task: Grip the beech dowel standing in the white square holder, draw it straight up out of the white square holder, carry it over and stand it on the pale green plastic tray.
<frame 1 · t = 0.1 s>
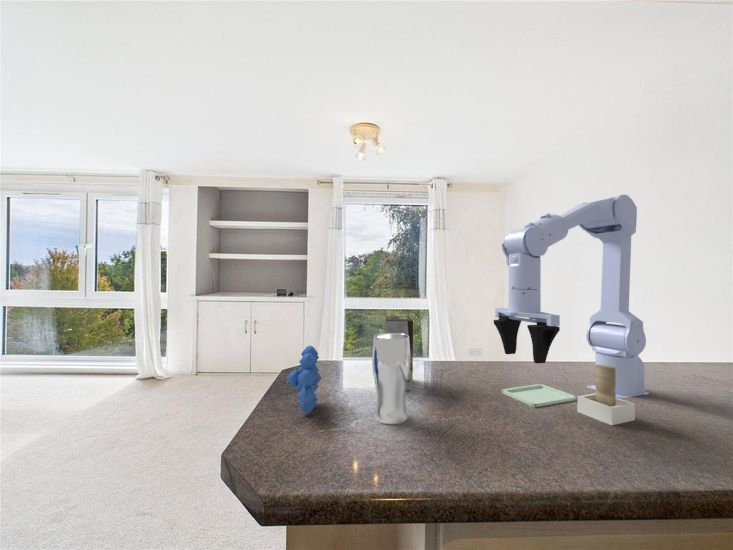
hand: (524, 358, 65), 10 cm above the countertop, tool pointing down, fingers open, 7 cm apart
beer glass: (390, 418, 61), on the countertop
grapes: (303, 409, 64), on the countertop
coffee box: (398, 384, 80), on the countertop
tray: (538, 398, 71), on the countertop
dowel: (605, 415, 61), point 1 cm above the countertop, touching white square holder
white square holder: (605, 418, 61), on the countertop
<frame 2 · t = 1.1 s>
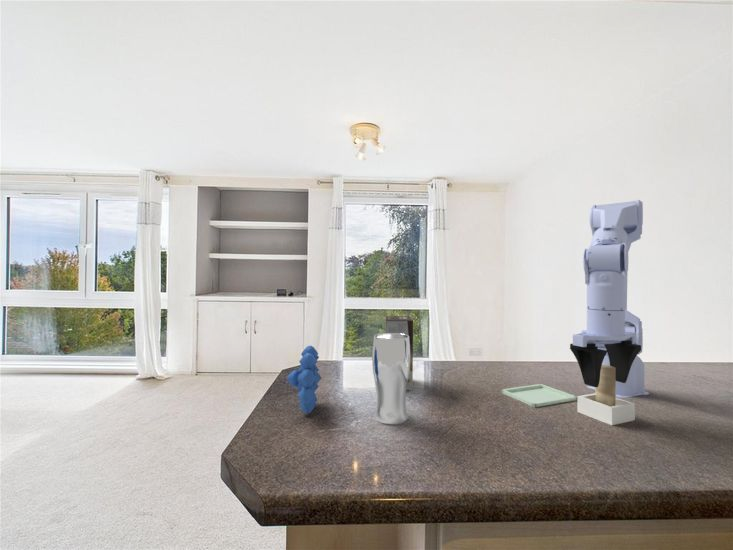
hand: (605, 383, 61), 7 cm above the countertop, tool pointing down, fingers open, 7 cm apart
nothing on the countertop moved.
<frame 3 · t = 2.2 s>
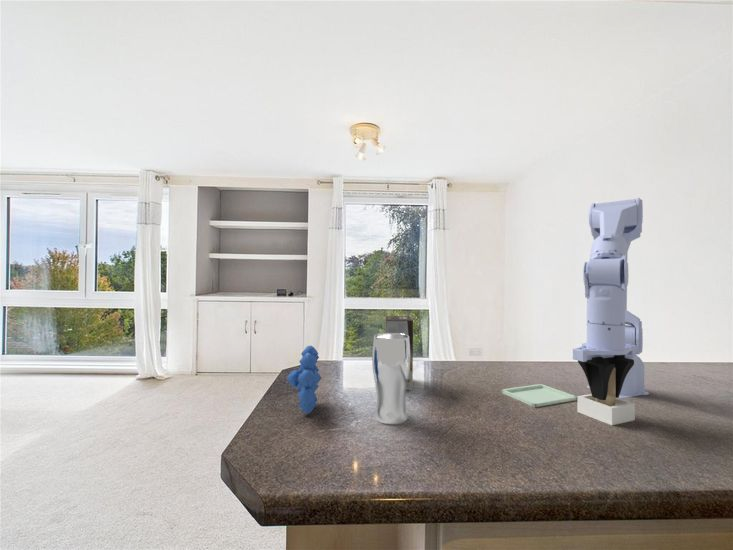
hand: (605, 397, 61), 4 cm above the countertop, tool pointing down, fingers closed on dowel, 3 cm apart
dowel: (605, 415, 61), point 1 cm above the countertop, touching gripper, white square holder
everything else where it was.
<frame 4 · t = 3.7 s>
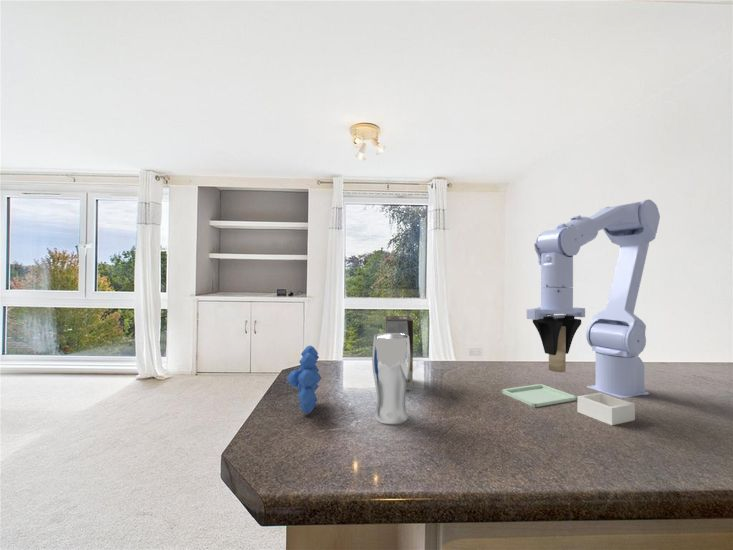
hand: (556, 353, 68), 10 cm above the countertop, tool pointing down, fingers closed on dowel, 3 cm apart
dowel: (557, 370, 68), point 7 cm above the countertop, touching gripper
everything else where it was.
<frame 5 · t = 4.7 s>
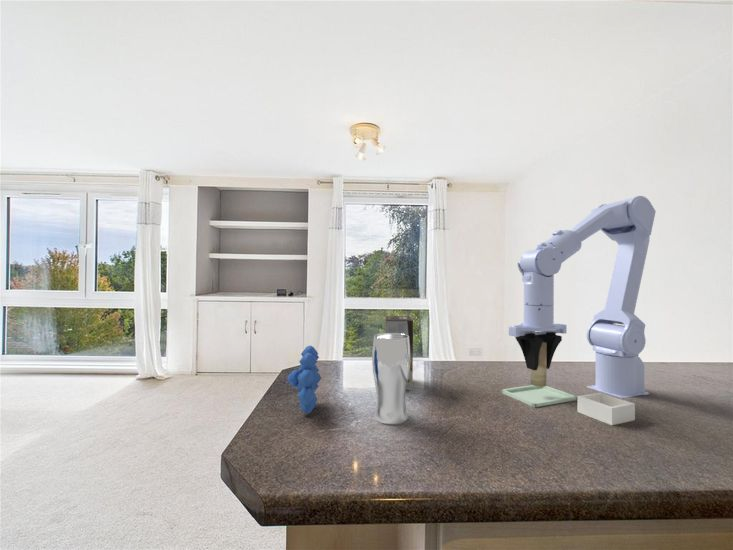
hand: (538, 368, 71), 6 cm above the countertop, tool pointing down, fingers closed on dowel, 3 cm apart
dowel: (538, 384, 71), point 3 cm above the countertop, touching gripper
everything else where it was.
when the fingers open (5 cm above the countertop, at t = 5.3 s): dowel stays where it is, resting on tray.
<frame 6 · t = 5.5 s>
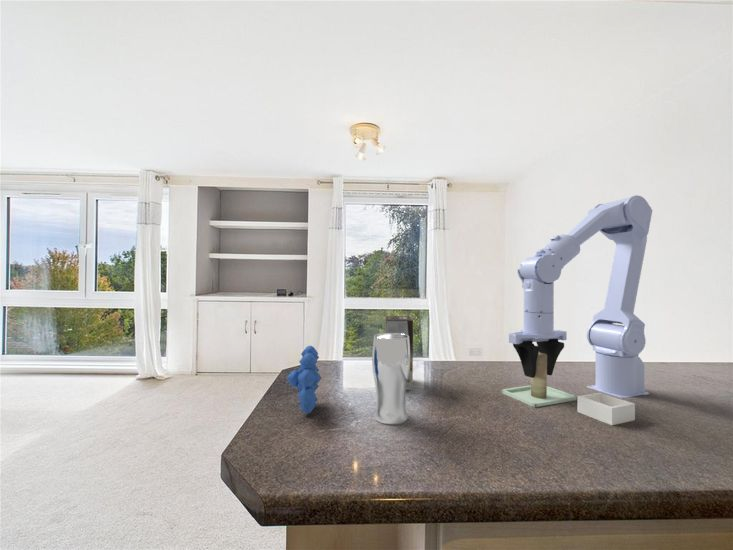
hand: (538, 375, 71), 5 cm above the countertop, tool pointing down, fingers open, 4 cm apart
dowel: (538, 395, 71), point 1 cm above the countertop, touching tray
everything else where it was.
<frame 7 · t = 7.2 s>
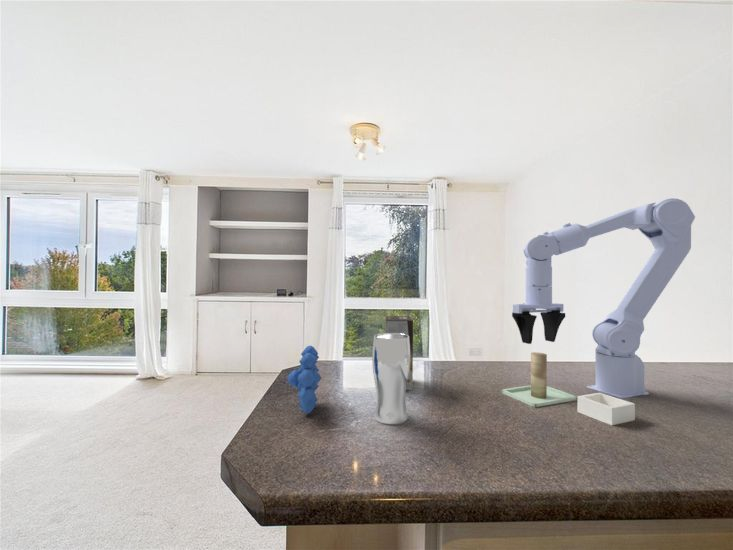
hand: (538, 342, 80), 10 cm above the countertop, tool pointing down, fingers open, 7 cm apart
nothing on the countertop moved.
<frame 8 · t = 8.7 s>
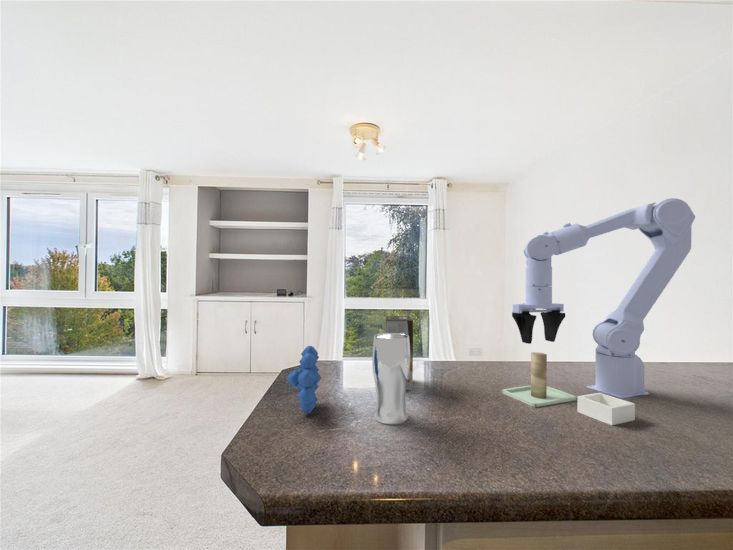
hand: (538, 342, 80), 10 cm above the countertop, tool pointing down, fingers open, 7 cm apart
nothing on the countertop moved.
at the end: dowel inside the target area on the tray (0.1 cm from its centre), point 0.6 cm above the tray's base; dowel tilted 0°; the gripper is holding nothing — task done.
